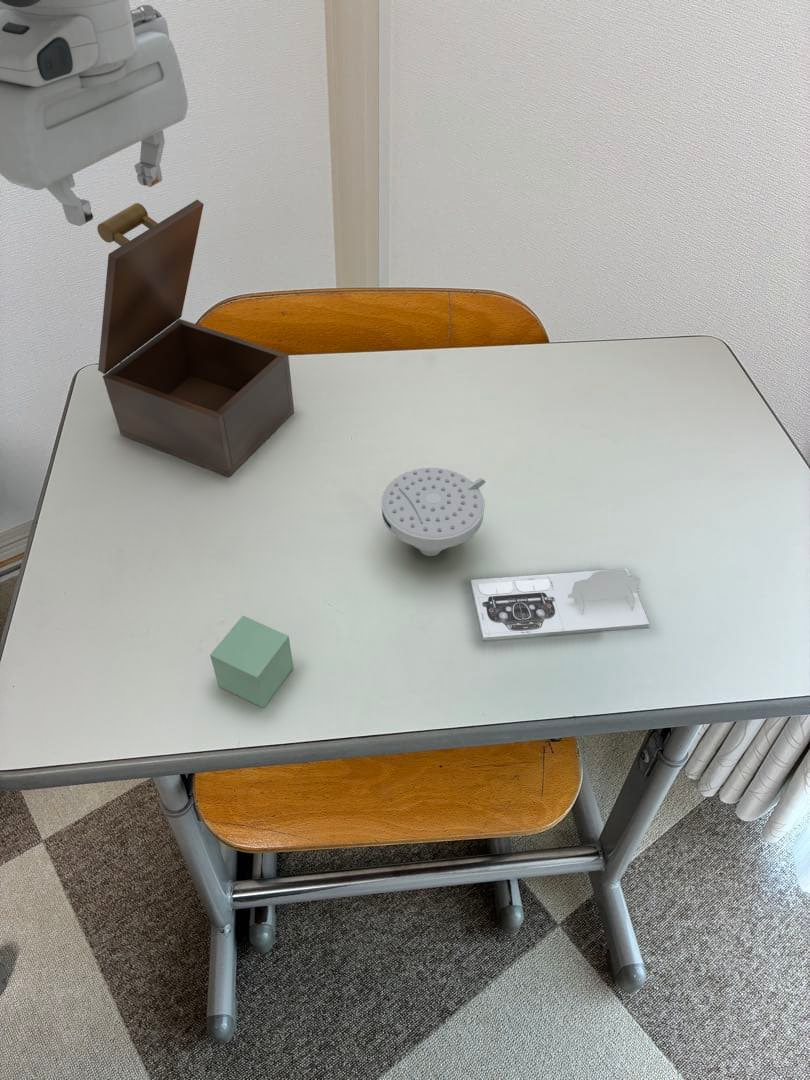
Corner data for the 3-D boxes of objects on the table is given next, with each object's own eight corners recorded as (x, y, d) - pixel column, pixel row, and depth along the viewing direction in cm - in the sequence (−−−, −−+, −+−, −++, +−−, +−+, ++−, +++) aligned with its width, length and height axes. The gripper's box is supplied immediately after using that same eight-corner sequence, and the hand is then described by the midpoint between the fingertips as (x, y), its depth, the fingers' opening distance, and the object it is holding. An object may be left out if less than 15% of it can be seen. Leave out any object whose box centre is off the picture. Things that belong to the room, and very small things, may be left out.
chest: (294, 412, 91) (288, 354, 85) (229, 477, 83) (217, 418, 78) (191, 376, 96) (179, 318, 90) (120, 435, 88) (102, 376, 82)
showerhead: (510, 510, 71) (408, 544, 68) (501, 564, 76) (406, 597, 73) (461, 447, 76) (365, 475, 73) (456, 501, 82) (366, 529, 79)
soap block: (263, 708, 65) (257, 677, 61) (218, 686, 66) (209, 655, 63) (293, 667, 67) (289, 635, 64) (249, 647, 69) (242, 615, 66)
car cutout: (626, 571, 76) (637, 538, 72) (648, 627, 71) (661, 595, 68) (470, 582, 74) (474, 550, 71) (482, 640, 70) (487, 608, 66)
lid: (203, 203, 77) (161, 173, 77) (115, 259, 70) (68, 224, 70) (181, 317, 90) (144, 290, 90) (104, 374, 82) (63, 345, 82)
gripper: (132, -6, 70) (162, 156, 80) (-57, 53, 58) (7, 237, 68) (190, 4, 69) (213, 169, 79) (8, 68, 56) (64, 255, 66)
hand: (117, 201), depth 73 cm, fingers open, 8 cm apart
